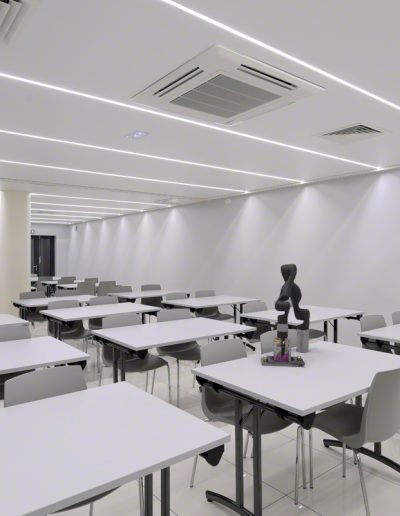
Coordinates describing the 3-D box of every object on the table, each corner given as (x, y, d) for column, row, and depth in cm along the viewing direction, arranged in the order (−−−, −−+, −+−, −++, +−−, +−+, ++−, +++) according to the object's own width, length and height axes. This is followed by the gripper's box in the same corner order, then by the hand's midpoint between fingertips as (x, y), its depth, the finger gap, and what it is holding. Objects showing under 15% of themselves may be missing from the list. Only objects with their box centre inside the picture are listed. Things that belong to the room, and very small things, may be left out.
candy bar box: (273, 360, 271) (273, 337, 271) (275, 359, 275) (275, 336, 275) (288, 363, 265) (289, 339, 265) (291, 361, 269) (291, 337, 269)
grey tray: (260, 359, 279) (261, 352, 279) (300, 361, 277) (301, 353, 277) (262, 365, 264) (262, 358, 264) (304, 367, 261) (304, 359, 261)
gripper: (289, 332, 263) (289, 357, 263) (286, 328, 277) (286, 351, 277) (278, 331, 263) (277, 356, 263) (275, 328, 278) (275, 351, 278)
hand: (282, 354), depth 270 cm, fingers closed on candy bar box, 6 cm apart
